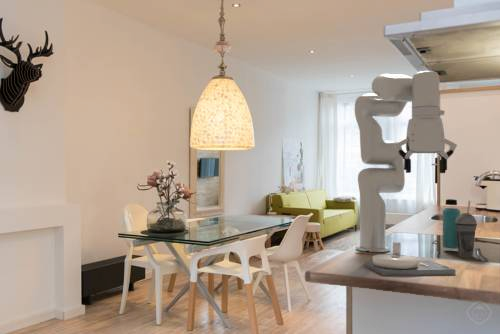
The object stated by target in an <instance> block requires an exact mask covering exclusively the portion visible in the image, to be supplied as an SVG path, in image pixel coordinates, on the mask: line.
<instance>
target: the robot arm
mask: <svg viewBox="0 0 500 334" xmlns="http://www.w3.org/2000/svg"><path fill="white" fill-rule="evenodd" d="M371 90H372V93H366V94H362V95H359V96H358V97H357V98H356V100H355V103H354V117H355V120H356V123H357V126H358V129H359V143H360V144H359V147H360V149H359V150H360V158H361V159H360V160H361V161H362V163H364V164H366V165H368V166H371V165H372V166H376V165H377V166H388V167H387V168H385V167H367V168H363V169H361V170H360V171H359V173H358V174H357V184H358V189H359V191H358V192H359V203H360V204H359V213H360V214H359V244H358V245H355V249H356V250H357V251H361V252H366V251H369V252H368V253H386V252H389V251H390V247H389V246H387V245H386V223H387V221H386V215H387V214H386V213H387V209H386V207H387V206H386V202H385V199H383V197H382V196H381V195H380V194H382V193H383V194H386V193H388V194H389V193H390V194H396V193H397V194H398V193H400V192H402V191H403V190H404V188H405V180H406V179H405V173H406V174H407V173H408V174H410V173H411V172H412V159H411V156H412V155H413V154H437V155H438V156H439V157H440V159H439V174H445V173H446V171H447V170H448V159H449V158H450V157H451V156H452V155H453V154H454V152H455V150H456V148H457V146H458V145H457V144H456V143H455V142H453V141H450V140H449V139H446V138H445V129H444V123H443V119H442V118H441V116H444V115H445V110H443V109H441V107H440V75H439V73H438V72H436V71H432V70H424V71H419V72H416V73H414V74H413V75H412V76H409V75H408V74H396V73H395V74H391V73H384V74H380V75H378V76H376V77H375V78H374V79H373V80H372V83H371ZM408 102H410V103H411V118H410V119H408V122H407V128H406V138H405V139H403V140H401V141H399V142H398V141H394V140H384V139H383V129H382V126H381V125H380V123H379V122H378V120H376V118H374V117H385V118H386V117H387V118H388V117H389V118H391V117H392V118H393V117H395V118H396V117H398V116H399V115H400V114H401V113H402V112H403V111H404V109H405V107H406V106H407V103H408ZM404 145H405V150H406V152H405V151H404V150H403V148H402V146H404ZM446 146H448V147H449V149H448V150H447V151H445V147H446Z"/></svg>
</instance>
